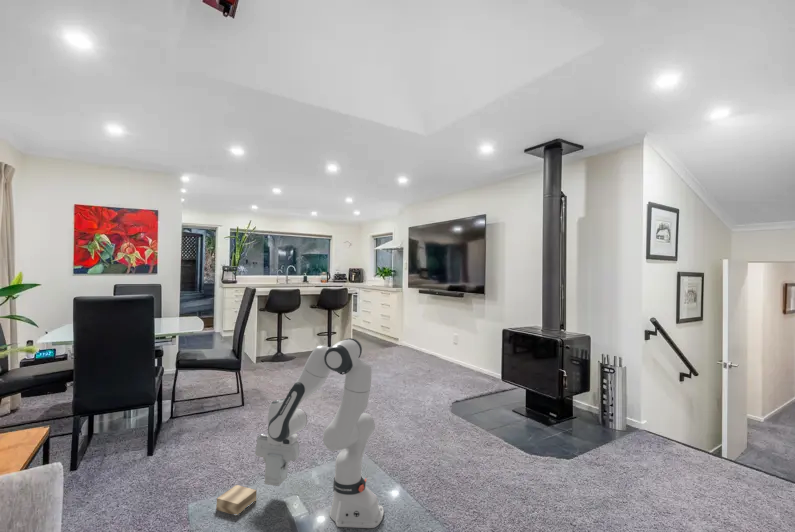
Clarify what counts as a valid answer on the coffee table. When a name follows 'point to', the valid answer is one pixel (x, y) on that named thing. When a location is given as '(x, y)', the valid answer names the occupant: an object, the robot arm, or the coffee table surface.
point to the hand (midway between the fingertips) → (276, 468)
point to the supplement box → (275, 470)
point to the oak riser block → (236, 499)
